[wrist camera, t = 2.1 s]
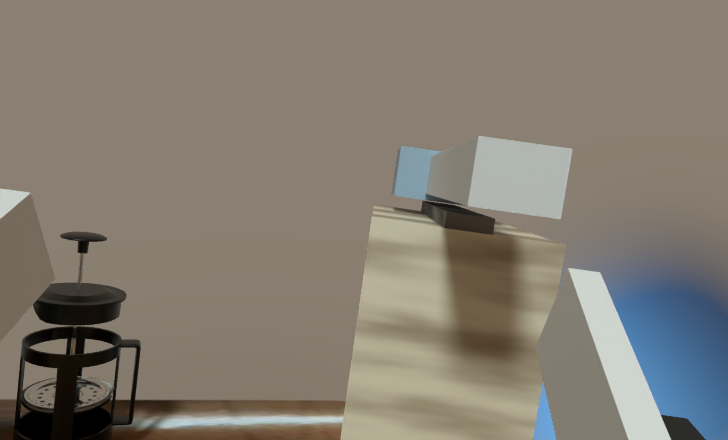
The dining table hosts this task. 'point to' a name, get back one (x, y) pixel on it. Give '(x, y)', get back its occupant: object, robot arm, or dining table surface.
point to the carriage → (487, 175)
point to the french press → (73, 361)
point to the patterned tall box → (449, 327)
